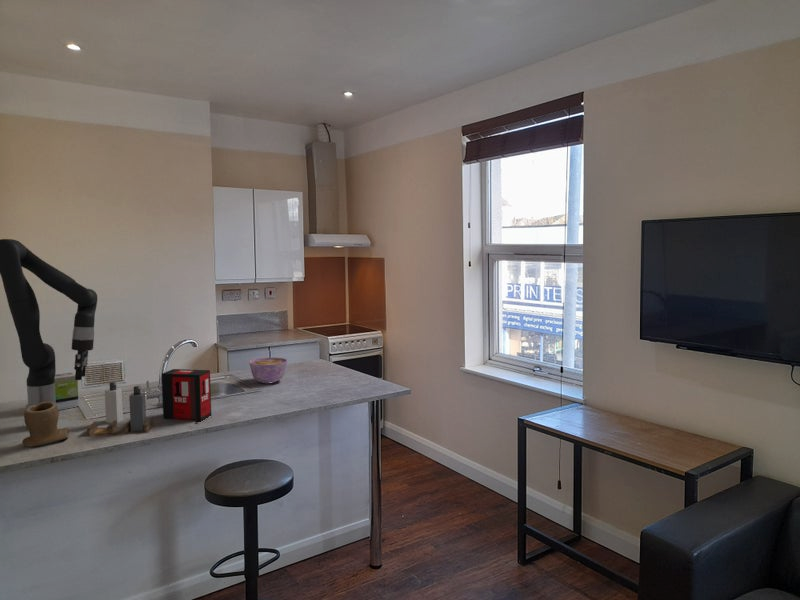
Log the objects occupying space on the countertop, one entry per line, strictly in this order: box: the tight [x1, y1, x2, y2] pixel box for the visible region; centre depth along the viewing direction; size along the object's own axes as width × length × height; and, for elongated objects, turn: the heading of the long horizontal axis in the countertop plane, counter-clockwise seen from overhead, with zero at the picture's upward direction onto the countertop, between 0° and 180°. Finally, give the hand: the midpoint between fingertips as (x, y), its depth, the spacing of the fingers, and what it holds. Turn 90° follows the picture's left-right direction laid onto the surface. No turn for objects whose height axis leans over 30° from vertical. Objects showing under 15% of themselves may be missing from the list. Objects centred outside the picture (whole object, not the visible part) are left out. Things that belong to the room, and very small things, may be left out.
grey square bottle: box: [128, 385, 147, 432], centre depth 208 cm, size 4×4×17 cm
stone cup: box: [21, 402, 70, 448], centre depth 197 cm, size 15×12×15 cm
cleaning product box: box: [161, 368, 212, 422], centre depth 225 cm, size 16×9×20 cm, turn 82°
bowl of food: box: [248, 356, 288, 383], centre depth 288 cm, size 20×20×12 cm
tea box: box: [54, 372, 79, 411], centre depth 239 cm, size 15×10×15 cm, turn 137°
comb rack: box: [84, 417, 155, 438], centre depth 207 cm, size 22×10×4 cm, turn 102°
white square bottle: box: [104, 381, 124, 424], centre depth 218 cm, size 4×4×17 cm
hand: (80, 378), depth 216 cm, fingers open, 8 cm apart
